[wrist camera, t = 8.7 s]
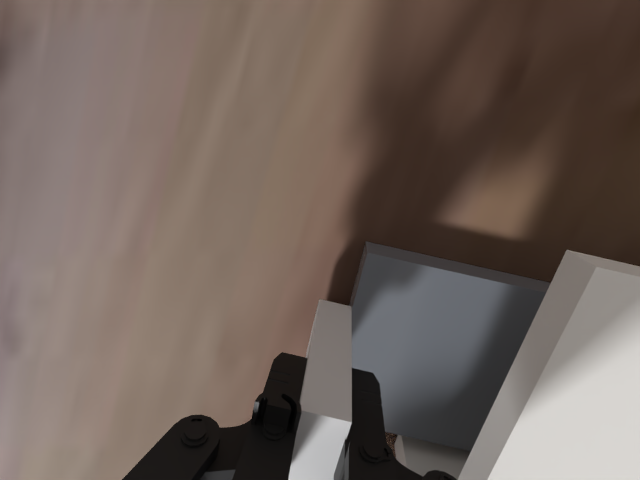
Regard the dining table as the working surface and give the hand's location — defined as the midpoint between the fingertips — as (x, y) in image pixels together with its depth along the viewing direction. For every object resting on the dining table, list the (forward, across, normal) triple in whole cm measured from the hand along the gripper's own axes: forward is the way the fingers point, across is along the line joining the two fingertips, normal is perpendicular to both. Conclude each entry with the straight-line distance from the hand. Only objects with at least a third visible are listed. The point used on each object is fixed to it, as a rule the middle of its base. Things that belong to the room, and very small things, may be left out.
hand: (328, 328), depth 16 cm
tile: (+2, +8, 0) cm, 8 cm away
